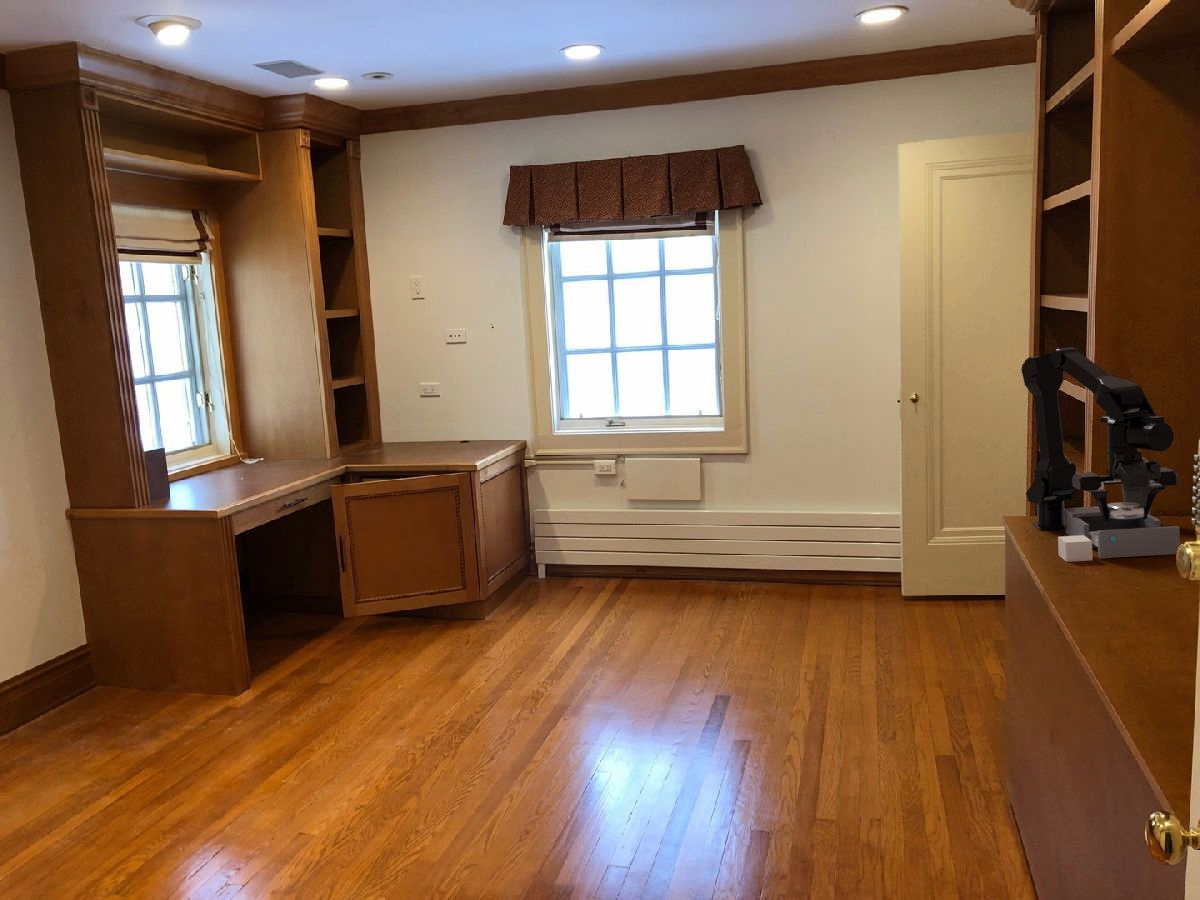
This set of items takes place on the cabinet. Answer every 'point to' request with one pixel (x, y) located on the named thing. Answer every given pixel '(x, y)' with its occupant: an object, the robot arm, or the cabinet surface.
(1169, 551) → the tray
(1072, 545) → the block
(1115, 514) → the disc
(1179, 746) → the cabinet surface
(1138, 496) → the beverage cup
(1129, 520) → the housing
